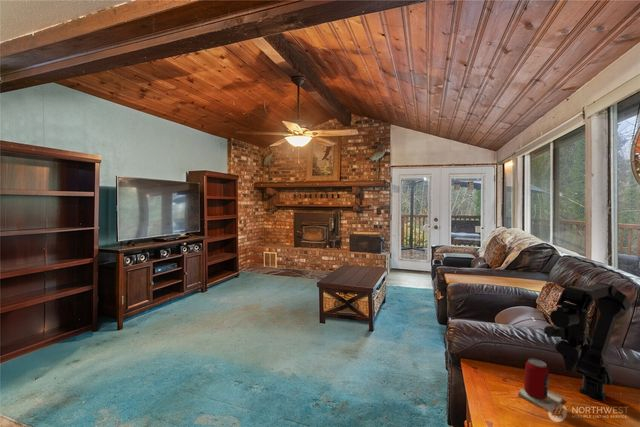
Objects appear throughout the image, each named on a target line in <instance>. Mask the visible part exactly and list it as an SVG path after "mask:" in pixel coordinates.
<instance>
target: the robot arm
mask: <svg viewBox="0 0 640 427" xmlns="http://www.w3.org/2000/svg"><path fill="white" fill-rule="evenodd" d="M595 300H596V302H597V303H596V307H597V309H598V311H599V315H598V318H597V321H596V323H595V328H594V330H593V333H592V337H591V335H589V334H587V332H588V331H589V327H588V326H587V325H588V314H589V313H588V312H589V311H590V310H591V307H592V305H594V302H595ZM556 305H557V307H556V309H555V310H553V311H552V312H550V314H549V320H550V321H551V323H552V324H553V325H547V326H545V327H543V328H544V329H543V334H545V335H546V337H547V338H560V339H561V340H559V341H558V342H556V343H554V350H555V351H556V352H558V353H559V354H560V355H561V356H562V357H563V358H562V359H563V362H564V365H565V369H566V371H568V372H572V370H573V369H574V367H575V370H576V373H577V374H580V375H582V385H581V387H580V388H579V389H578V392H579V391H580V392H579V393H582V394H584V395H586V396H589V397H590V398H594V399H596V400H598V401H601V402H603V401H604V400H605V399H606V396H607V393H605V392H604V388H605V386H606V385H607V386H612V382H613V375H612V373H611V372H610V370H609V365H610V364H609V363H608V362H609V361H608V360H607V357H606V354H607V351H608V348H609V345H610V341H611V339H612V335H613V333H614V330H615V327H616V323H617V320H619V319H621V318H623V317H624V316H626V314H627V311H628V310H630V307H631V302H630V300H629V298H628V296H627V295H626V294H624V293H623V292H622V291H621V290H619V289H618V288H617V286H615V285H614V284H611V283H610V284H609V283H605V282H596V283H595V284H591V285H587V286H584V287H583V286H582V287H579V286H571V285H569V286H566V287H565V288H563V290H562V292H561V294H560V296H559V298H558V300H557V302H556Z"/></svg>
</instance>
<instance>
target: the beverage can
mask: <svg viewBox="0 0 640 427" xmlns="http://www.w3.org/2000/svg"><path fill="white" fill-rule="evenodd" d="M549 372H550V370H549V368H548V366H547V363H546V362H544V361H543V360H540V359H537V358H534V357H533V358H532V357H531V358H528V360H527V361H526V362H525V368H524V385H523V388H524V390H525V391H526V392H527V393H528V394H529V395H530V396H532V397H534V398H537V399H545V398H547V392H548V390H549Z"/></svg>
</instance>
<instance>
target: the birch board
mask: <svg viewBox="0 0 640 427" xmlns="http://www.w3.org/2000/svg"><path fill="white" fill-rule="evenodd" d="M519 390H520V391H519V392H518V394H517V396H518V397H520V398H521V399H524V400H526V401H528V402H530V403H531V404H534V405H536V406H537V407H540V408H542V407H543V408H542V409H544V408H545V409H544V410H546V409H547V410H546V411H548V410H549V411H548V412H550V411H551V412H550V413H553V412H554V411H555V410H556V408H557V407H558V406H559V405H560V404H561V403H562V402H563V401H564V396H562V395H561V394H558V393H556V392H554V391H551V390H549V389H548V392H547V398H545V399H537V398H534V397H532V396H530V395H529V394H528V393H527V392H526V391H525V390H524V387H521V388H520V389H519ZM553 410H554V411H553ZM552 411H553V412H552Z"/></svg>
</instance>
